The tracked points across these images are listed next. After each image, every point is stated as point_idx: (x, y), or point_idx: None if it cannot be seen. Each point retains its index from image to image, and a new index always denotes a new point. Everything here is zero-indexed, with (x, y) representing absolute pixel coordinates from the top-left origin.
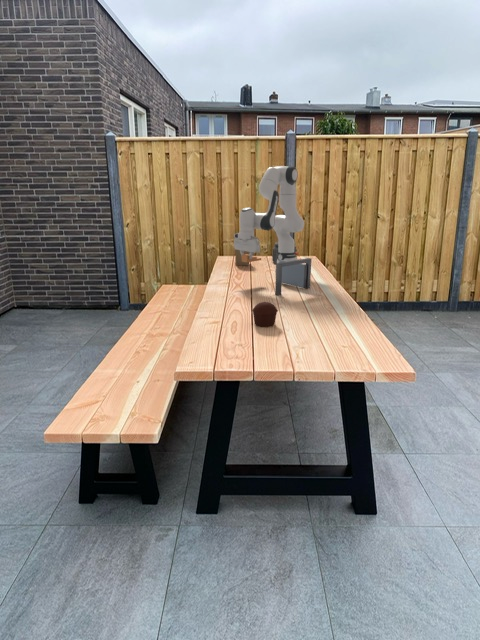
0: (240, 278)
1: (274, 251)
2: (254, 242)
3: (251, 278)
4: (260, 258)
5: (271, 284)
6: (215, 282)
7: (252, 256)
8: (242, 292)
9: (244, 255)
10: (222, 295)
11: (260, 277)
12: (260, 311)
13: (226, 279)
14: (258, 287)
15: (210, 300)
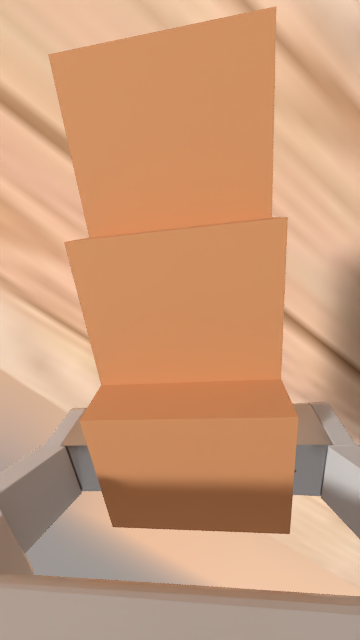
0: (30, 221)
1: None
2: None
3: (62, 138)
4: (272, 56)
5: (346, 129)
6: (75, 407)
7: (186, 292)
8: (354, 432)
9: (203, 529)
10: (324, 515)
11: (56, 17)
12: None
13: (26, 320)
14: (339, 291)
15: (349, 573)
